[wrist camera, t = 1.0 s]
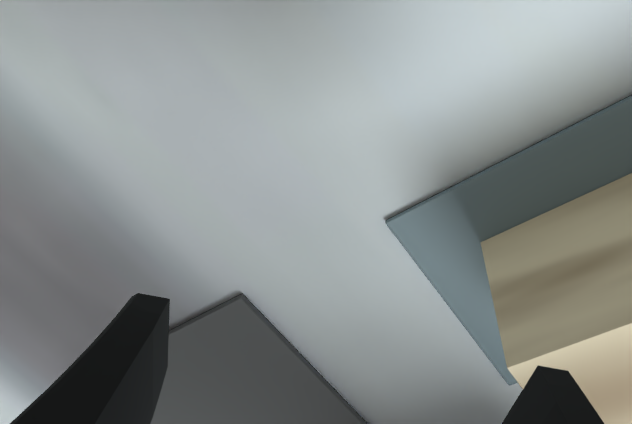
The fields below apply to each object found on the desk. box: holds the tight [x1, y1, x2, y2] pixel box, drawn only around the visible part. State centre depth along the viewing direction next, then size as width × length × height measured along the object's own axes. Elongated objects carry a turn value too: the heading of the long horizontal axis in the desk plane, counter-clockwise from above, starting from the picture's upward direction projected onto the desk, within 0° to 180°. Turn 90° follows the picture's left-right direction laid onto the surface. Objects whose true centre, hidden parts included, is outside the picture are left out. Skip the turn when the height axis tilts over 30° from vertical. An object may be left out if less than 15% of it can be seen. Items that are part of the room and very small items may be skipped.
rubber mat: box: [150, 294, 367, 424], centre depth 29 cm, size 10×12×1 cm
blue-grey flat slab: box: [386, 95, 632, 385], centre depth 21 cm, size 10×14×1 cm
